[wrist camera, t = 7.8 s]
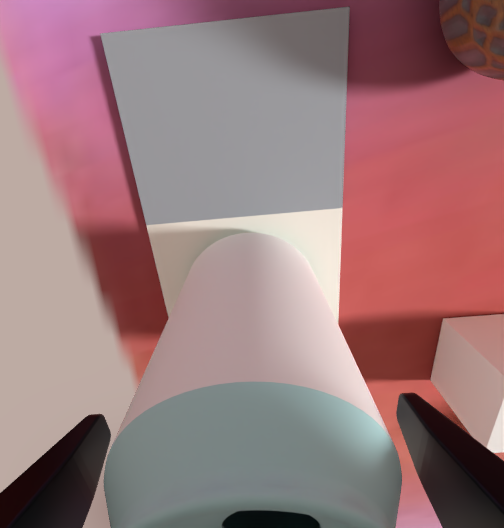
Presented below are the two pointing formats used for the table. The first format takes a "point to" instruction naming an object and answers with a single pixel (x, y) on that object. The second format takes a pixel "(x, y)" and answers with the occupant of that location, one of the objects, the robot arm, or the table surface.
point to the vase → (475, 34)
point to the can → (252, 408)
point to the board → (237, 135)
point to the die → (473, 375)
